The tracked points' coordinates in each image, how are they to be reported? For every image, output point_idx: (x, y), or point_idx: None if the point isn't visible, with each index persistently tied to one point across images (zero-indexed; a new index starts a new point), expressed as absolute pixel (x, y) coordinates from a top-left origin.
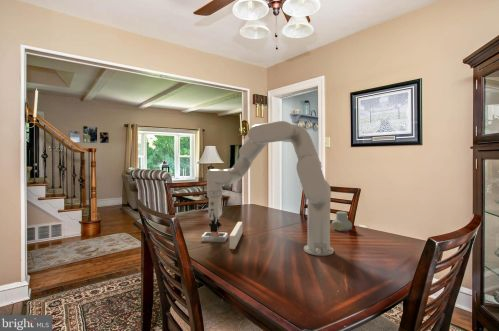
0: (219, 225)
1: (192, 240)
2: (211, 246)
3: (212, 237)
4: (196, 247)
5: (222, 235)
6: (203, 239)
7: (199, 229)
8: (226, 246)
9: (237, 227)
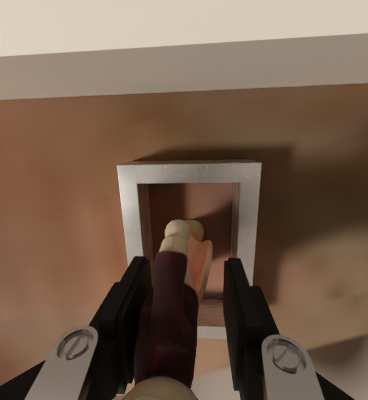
0: (184, 274)
1: (223, 356)
2: (347, 231)
3: (251, 263)
4: (360, 312)
5: (144, 203)
6: None
7: (9, 364)
8: (357, 122)
9: None
